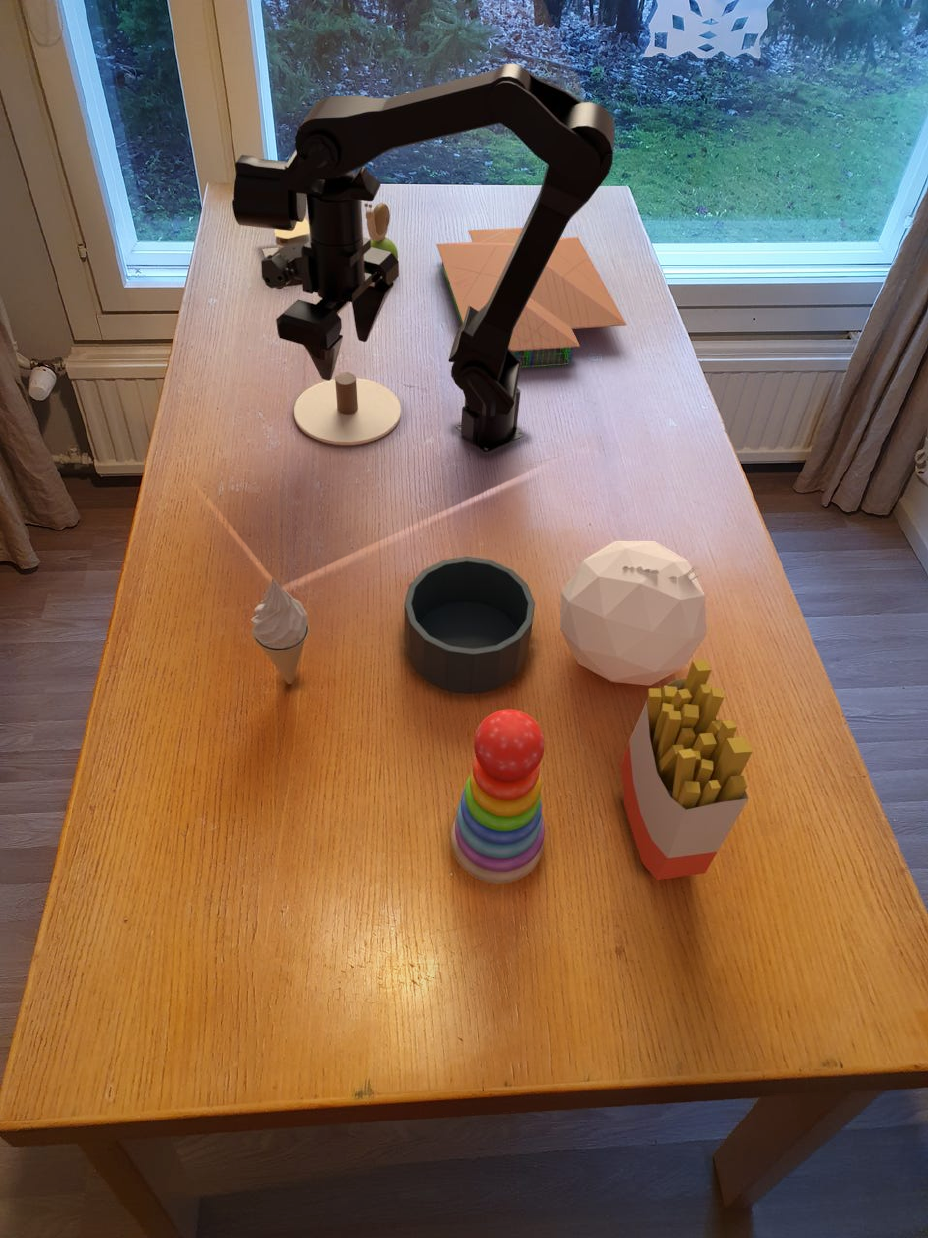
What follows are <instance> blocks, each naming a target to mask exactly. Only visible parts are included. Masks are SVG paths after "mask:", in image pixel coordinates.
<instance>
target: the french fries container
mask: <svg viewBox="0 0 928 1238" xmlns="http://www.w3.org/2000/svg"><path fill="white" fill-rule="evenodd" d="M712 671H713V670H712V668H711V665H710V664H709V662H708V660H707V659H697V660H696V659H695V660H691V664H690V667H689V669H688V672H687V675H686V677H685V678H676V679H673V680H672V681H670V682H669V683H668V684H666V685H663V687H662V688H653V687H652V688H650V687H649V688H648V692H647V693H648V694H647V699H646V701H645V703H644V706H643V708H642V710H641V713H640V715H639V718H638V719H637V722H636V724H635V726H634V728H633V731H632V733H631V735H630V737H629V739H628V740H629V741H628V743H627V746H626V748H625V752H624V755H623V758H622V761H621V763H620V771H621V781H622V795H623V796H622V797H623V806H624V809H625V813H626V816H627V820H628V822H629V826H630V829H631V833H632V835H633V838H634V841H635V842H634V843H635V845H636V849H637V852H638V856H639V858H640V862H641V863H642V864H643V866H644V867H645V868H646V869H647V870H648V872H649V873H650V874H651V875H652V876H653V877H654V878H655V879H656V881H661V880H667V879H674V878H681V877H689V876H697V875H704V874H706V873H707V871H708V869H709V867H710V866H711V864H712V862H713V860H714V859H715V857H716V856H717V854H718V852H719V850H720V848H721V847H722V845H723V843H724V842H725V840H726V839H727V837H728V835H729V833H730V832H731V830H732V828H733V827H734V824H735V823H736V821H737V819H738V818H739V817H740V814H741V812H742V811H743V809H744V807H745V806H746V804H747V802H748V801H749V799H750V798H749V796H748V793H747V791H746V790H747V789H748V784H747V781H746V778H745V776H744V775H743V774H742V773H743V772H744V770H745V768H746V766H747V763H748V762H749V760H750V758H751V756H752V754H753V749H752V748H751V745H750V744H749V742H748V740H747V738H746V737H745V736H739V737H737V736H736V737H735V735H736V732H737V729H738V726H737V725H736V724H735V722H734V721H733V719H728V720H724V719H723V718H721V719H717V716H718V714H719V712H720V709H721V707H722V704H723V702H724V699H725V694H724V689H722V688H716V687H713V686H712V684H711V683H708V681H709V678H710V676H711V673H712Z"/></svg>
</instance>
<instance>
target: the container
mask: <svg viewBox="0 0 928 1238" xmlns="http://www.w3.org/2000/svg"><path fill="white" fill-rule="evenodd" d="M535 609H536V601H535V599H534V596H533V594H532V591H531V589H530V587H529V584H528V583H527V582H526V581H525V580H524V579H523V578H522V577H521V576H520V575H519V574H517V572H516V571H514V570H513V569H511V568H510V567H507V566H506V565H503V564H502V563H499V562H497V561H495V560H491V559H487V558H479V557H472V556H461V557H455V558H448V559H442V560H440V561H438V562H436V563H434V564H432V565H430V566H427V567H426V568H424V569H423V570H421V572H420V573H419V574H418V575H417V576H416V577H415V578H414V579H413V580H412V581H411V582H410V584H409V585H408V589H407V593H406V596H405V600H404V645H405V649H406V650H405V651H406V655H407V658H408V661H409V663H410V665H411V666H412V668H413V669H414V671H415V672H416V674H418V676H420V677H421V678H422V679H423V680H425V681H426V682H427V683H428V684H430V685H432V686H434V687H435V688H438V689H440V690H443V691H446V692H448V693H453V694H457V695H458V694H459V695H479V694H485V693H489V692H493V691H495V690H498V689H500V688H502V687H504V686H506V685H507V684H509V683H510V682H512V680H514V679H515V678H516V677H517V676H518V674H519V673H520V672H521V671H522V670H523V667H525V664H526V662H527V660H528V654H529V649H530V643H531V642H530V641H531V636H532V629H533V624H534V616H535Z"/></svg>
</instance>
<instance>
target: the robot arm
mask: <svg viewBox="0 0 928 1238" xmlns="http://www.w3.org/2000/svg"><path fill="white" fill-rule="evenodd" d="M499 124H501V125H503V127H505V128H507V129H508V130H509V131H511V132H512V133H513V134H514V135H515V136H516V137H517V138H518V139H519V140H520V141H521V142H522V143H523V145H525V146H526V147H527V148H528V149H529V150H530V151H531V152H532V153H533V154H534V156H536V157H537V158H538V159H539V160H541V161H542V162H544V163H545V164H546V167H545V171H544V174H543V175H544V176H543V178H542V183H541V187H540V191H539V192H538V195H537V198H536V200H535V201H534V203H533V206H532V208H531V210H530V212H529V214H528V216H527V218H526V221H525V223H524V225H523V227H522V228H523V229H522V231H521V233H520V235H519V238H518V240H517V242H516V244H515V246H514V248H513V250H512V252H511V254H510V257H509V259H508V261H507V263H506V265H505V267H504V269H503V271H502V274H501V276H500V278H499V280H498V282H497V284H496V286H495V288H494V291H493V293H492V295H491V297H490V299H489V301H488V302H487V304H486V305H485V306H484V307H483V308H482V309H481V310H480V311H477V310H476V309H474V308H473V307H471V306H468V310H467V313H466V317H465V321H464V323H463V324H461V326H460V327H459V328H457V329H456V331H455V335H454V339H453V343H452V346H451V350H450V352H449V356H448V361H447V362H449V363H452V366H451V370H450V377H451V378H452V380H453V382H454V384H456V386H457V387H458V388H459V389H460V390H462V392H463V395H464V406H462V408H461V421H460V422H459V423H457V424H455V429H457V430H458V431H459V432H460V435H461V436H462V437H464V438H465V440H467V441H468V442H469V443H470V444H472V445H475V446H476V447H477V448H479V450H481V451H482V452H483V453H489V452H491V451H493V450H496V449H499V448H500V447H503V446H505V445H507V444H509V443H511V442H515V441H516V440H518V439H520V438H523V437H524V436H525V433H524V431H522V430H521V429H520V428H519V427H518V417H519V411H520V400H521V392H522V390H520V389H519V387H518V385H519V381H520V379H519V378H520V374H521V371H522V370H521V369H522V367H521V366H522V365H523V363H522V361H521V360H520V359H518V358H517V357H516V354H515V355H514V354H513V351H511V350H510V349H509V348H508V347H509V343H510V340H511V336H512V332H513V329H514V327H515V325H516V323H517V321H518V319H519V317H520V315H521V313H522V311H523V310H524V308H525V306H526V304H527V302H528V300H529V298H530V296H531V294H532V292H533V290H534V288H535V286H536V284H537V282H538V280H539V278H540V276H541V274H542V272H543V270H544V268H545V266H546V265H547V263H548V261H549V259H550V257H551V255H552V253H553V251H554V249H555V247H556V245H557V243H558V241H559V239H560V238H562V235H563V234H564V231H565V229H566V227H567V225H568V224H569V222H570V221H571V220H572V219H573V217H574V216H575V215H576V214H577V213H578V212H579V211H580V210H581V209H582V208H583V207H584V206H585V205H586V204H587V203H588V202H589V201H590V199H592V197H593V196H594V194H595V193H596V192H597V190H598V189H599V188H600V187H601V185H602V184H603V183H604V181H605V180H606V178H607V177H608V175H609V173H610V171H611V168H612V165H613V158H614V145H615V137H616V136H615V135H616V127H615V123H614V119H613V117H612V116H611V114H610V112H609V111H608V110H607V109H606V108H604V107H603V106H602V105H600V104H598V103H595V102H590V101H587V102H583V101H582V100H580V99H578V98H577V97H576V96H574V95H573V94H571V93H570V92H568V91H567V90H565V89H564V88H561V87H559V86H557V85H554V84H552V83H550V82H548V81H546V80H543V79H541V78H539V77H537V76H535V75H534V74H533V73H531V72H530V71H529V70H527V69H526V68H525V67H524V66H522V65H520V64H517V63H514V62H513V63H506V64H505V63H504V64H502V65H501V66H499V67H498V68H497V69H493V70H489V71H486V72H482V73H479V74H478V73H477V74H475V75H470V76H466V77H463V78H458V79H455V80H451V81H447V82H443V83H440V84H436V85H435V84H434V85H431V86H428V87H425V88H424V87H423V88H420V89H417V90H411V91H408V92H405V93H401V94H397V95H393V96H389V97H370V96H365V95H359V94H353V95H352V94H351V95H336V96H326V97H323V98H322V99H320V100H318V101H317V102H316V103H315V104H314V105H313V107H312V108H311V109H310V111H309V113H308V114H307V115H306V117H305V119H304V120H303V121H302V123H301V124H300V126H299V127H298V129H297V132H296V134H295V138H294V139H295V141H294V144H295V145H294V147H295V150H294V151H293V153H292V154H291V156H290V157H289V159H288V160H287V161H283V160H274V159H264V158H259V157H256V156H253V155H246V154H242V155H240V157H239V158H238V159H237V161H236V162H235V163H234V167H235V178H234V182H233V199H232V201H231V207H232V213H233V216H234V219H235V221H236V223H237V224H238V225H239V226H243V227H251V228H260V229H262V228H263V229H269V230H275V229H278V230H287V231H292V230H294V228H295V226H296V223H297V222H302V221H303V220H304V218H306V214H307V217H308V219H307V220H308V222H309V230H310V240H309V241H308V242H306V243H299V244H292V245H287V246H284V247H282V248H281V249H279V250H278V251H277V252H276V253H274V254H273V255H268V256H267V257H266V258H265V257H264V258H263V259H262V260H261V278H262V280H263V281H264V283H265V285H266V286H267V287H268V288H269V289H276V290H283V289H284V288H288V287H295V286H297V287H298V286H301V287H302V292H304V293H306V294H307V293H308V294H311V295H313V293H317V296H318V297H319V298H321V299H320V300H319V301H318V302H317V303H312V302H309V301H305V300H302V299H297V300H296V301H294V302H293V303H292V304H291V305H290V306H289V307H288V308H286V310H284V311H283V312H282V313H281V314H280V315H279V316H278V317H277V318H276V319H275V323H276V329H277V336H278V338H279V339H281V340H284V341H287V342H291V343H294V344H298V345H301V346H303V347H304V348H305V350H306V351H307V353H308V355H309V357H310V359H311V360H312V362H313V365H314V366H315V368H316V370H317V372H318V374H319V376H320V378H321V379H322V380H323V381H327V380H328V381H330V380H331V379H333V375H334V373H335V372H334V371H335V368H336V364H337V362H338V357H339V353H340V349H341V347H342V342H343V338H344V335H343V334H341V331H342V328H343V326H342V324H343V323H342V318H341V317H340V315H339V314H340V313H341V312H342V311H343V310H344V309H345V308H346V307H347V306H348V305H349V304H350V303H351V306H352V313H353V319H354V320H353V321H354V327H355V331H356V332H355V333H356V336H357V340H358V341H359V342H363V343H367V342H368V340H369V337H370V335H371V333H372V331H373V329H374V327H375V324H376V322H377V320H378V317H379V316H380V313H381V311H382V309H383V308H384V307H383V306H384V305H385V302H386V301H387V299H388V296H389V294H390V292H391V290H392V289H393V287H394V286H395V285H394V284H395V283H394V281H396V279H398V278H399V276H400V262H399V259H398V260H397V259H396V257H395V256H394V255H393V253H392V252H389V251H385V250H381V249H377V248H373V247H371V238H368V237H364V227H363V226H364V225H363V224H364V223H363V207H362V204H363V203H362V202H364V201H365V202H373V201H374V200H375V198H376V196H377V194H378V191H379V189H380V187H381V182H380V181H379V180H378V179H377V178H376V177H375V176H374V175H372V174H371V173H369V171H368V169H367V168H366V165H367V164H369V163H371V162H372V161H373V160H375V159H377V158H378V157H380V156H381V155H383V154H385V153H387V152H388V153H389V152H390V151H392V150H395V149H399V148H403V147H407V146H411V145H415V144H419V143H424V142H428V141H432V140H437V139H441V138H446V137H449V136H454V135H458V134H460V133H461V134H462V133H465V132H470V131H473V130H478V129H482V128H488V127H490V126H495V125H499ZM357 170H358V171H357ZM354 171H356V172H354ZM352 172H354V173H352ZM459 426H460V427H459ZM486 449H487V450H486Z"/></svg>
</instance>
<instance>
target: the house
mask: <svg viewBox="0 0 928 1238" xmlns="http://www.w3.org/2000/svg"><path fill="white" fill-rule="evenodd" d="M522 229H523V227H511V228H507V227H506V228H489V229H488V228H487V229H468V234H469V237H470V239H471V241H463V242H442V243H436V244H435V245H436V248H437V250H438V254H439V257H440V259H441V260H440V261H441V267H442V271H443V273H444V277H445V280H446V282H447V285H448V288H449V292H450V295H451V298H452V300H453V304H454V307H455V309H456V312H457V315H458V318H459V321H460V324H461V325H462V324H463V323H464V321H465V317H466V313H467V310H468V306H471V307H473V308H474V309H476V310H477V311H480V310H481V309H482V308H483V307H484V306H485V305H486V304H487V302H488V301H489V299H490V297H491V295H492V293H493V291H494V288H495V286H496V284H497V282H498V280H499V278H500V276H501V274H502V271H503V269H504V267H505V265H506V263H507V261H508V259H509V257H510V254H511V252H512V250H513V248H514V246H515V244H516V242H517V240H518V238H519V235H520V233H521V231H522ZM624 326H628V325H627V322H626V321H625V319H624V318H623V316H622V313H621V311H620V310H619V308H618V307H617V305H616V303H615V300H614V299H613V297H612V296H611V294H610V292H609V290H608V288H607V287H606V285H605V283H604V281H603V280H602V277H601V276H600V274H599V272H598V271H597V269H596V267H595V265H594V263H593V261H592V260H591V257H590V256H589V254H588V252H587V250H586V249H585V247H584V245H583V243H582V241H581V239H580V238H579V236H570V237H567V236H565V237H560V239H559V241H558V243H557V245H556V247H555V249H554V251H553V253H552V255H551V257H550V259H549V261H548V263H547V265H546V266H545V268H544V270H543V272H542V274H541V276H540V278H539V280H538V282H537V284H536V286H535V288H534V290H533V292H532V294H531V296H530V298H529V300H528V302H527V304H526V306H525V308H524V310H523V311H522V313H521V315H520V317H519V319H518V321H517V323H516V325H515V327H514V329H513V332H512V336H511V340H510V343H509V347H508V348H509V349H510V350H511V351H512V352H513V354H514V355H515V356H516V357H517V358H518V359H519V358H525V359H526V361H525V360H523V361H522V362H523V363H522V365H521V368H530V367H533V365H532V359H533V356H534V357H535V356H536V359H538V357H539V356H541V354H539V352H537V353H536V354H533V351H540V350H541V351H542V350H543V351H542V356H547V355H548V356H547V360H549V358H550V356H553V357H555V356H556V355H559V357H558V361H560V360H561V355H563V356H564V361H563V365H570V361H571V355H572V349H573V348H580V347H581V345H580V343H579V341H578V339H577V337H576V335H575V333H574V331H573V330H577V329H578V330H579V329H593V328H605V327H606V328H608V327H624ZM557 349H560V350H559V352H557V353H556V351H554V353H550V350H557ZM545 350H548V353H544V352H545ZM520 352H523V355H520ZM519 360H520V359H519ZM543 362H544V357H542V359H541V363H543ZM566 362H567V363H566ZM525 363H526V364H525ZM524 364H525V365H524ZM559 365H562V363H560V362H558V363H555V358H553V361H552V363H550V364H549V361H547V363H546V364H538V360H536V362H535V365H534V367H545V366H559Z"/></svg>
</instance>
